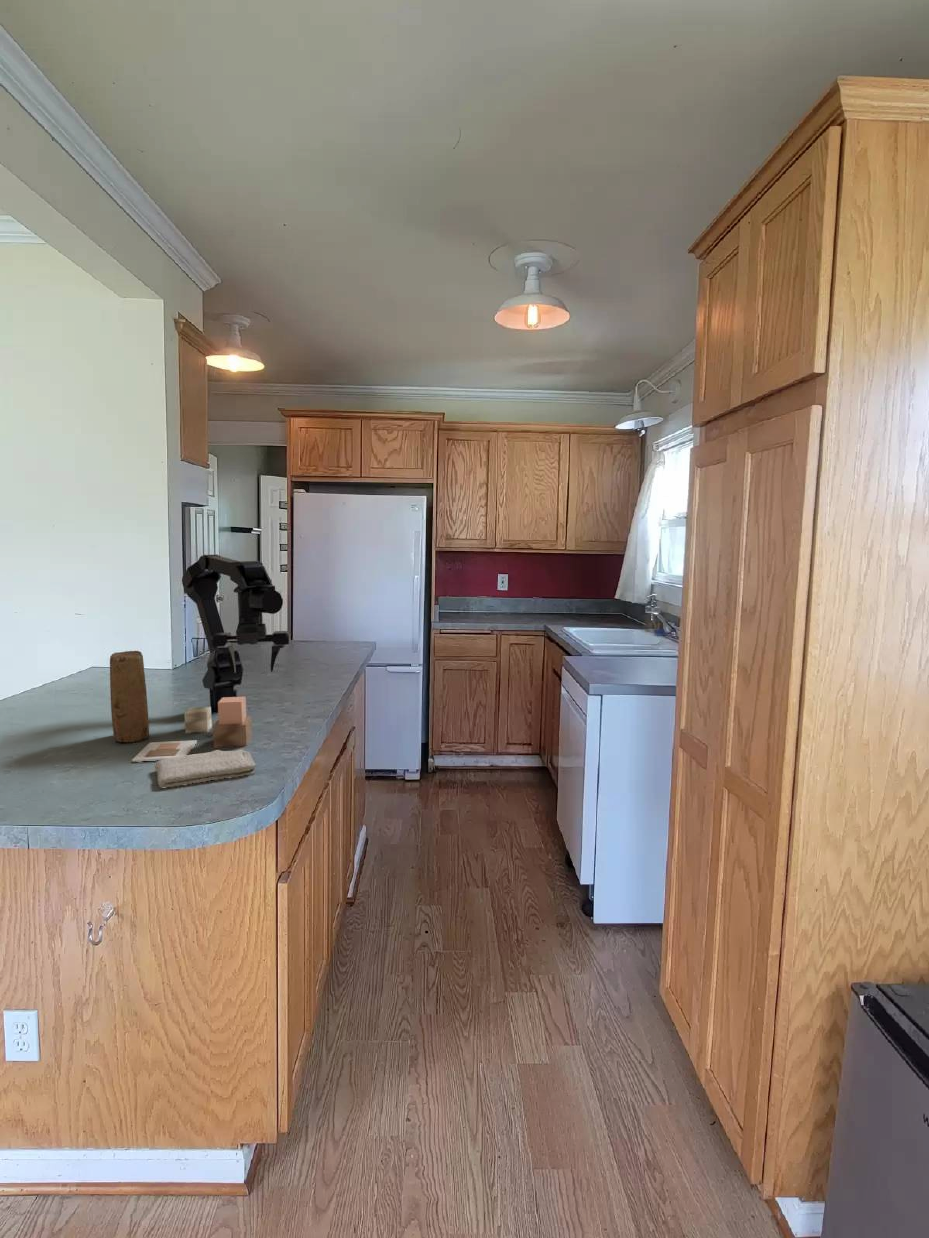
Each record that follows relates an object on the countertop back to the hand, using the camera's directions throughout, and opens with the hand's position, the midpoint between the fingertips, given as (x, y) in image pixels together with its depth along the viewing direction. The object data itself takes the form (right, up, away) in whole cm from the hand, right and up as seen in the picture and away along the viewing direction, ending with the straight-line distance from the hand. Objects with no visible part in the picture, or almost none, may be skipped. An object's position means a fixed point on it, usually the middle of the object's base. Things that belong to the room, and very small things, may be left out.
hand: (253, 672), depth 169 cm
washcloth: (+3, -17, -38) cm, 42 cm away
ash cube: (-11, -13, -8) cm, 19 cm away
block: (-24, -14, -14) cm, 31 cm away
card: (-11, -15, -25) cm, 32 cm away
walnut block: (+1, -15, -18) cm, 23 cm away
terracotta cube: (+1, -10, -19) cm, 21 cm away
